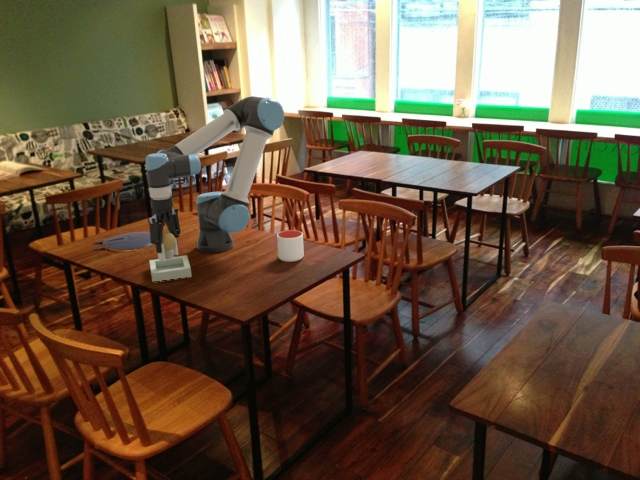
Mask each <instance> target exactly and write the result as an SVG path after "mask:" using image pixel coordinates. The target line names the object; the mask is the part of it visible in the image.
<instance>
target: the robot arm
mask: <svg viewBox="0 0 640 480" xmlns="http://www.w3.org/2000/svg"><path fill="white" fill-rule="evenodd" d="M284 120H285V111H284V109H283V106H282V105H281V103H280V102H279V101H278V100H276V99H274V98H273V99H272V98H270V97H260V96H247V97H244V98H242V99H240V100H238V101H237V102H234V103H233V104H231V105H230V106H228V107H227V108H225V109H224V110H223V113H222V114H221V115H219V116H218V117H216V118H214V119H213V120H212V121H210V122H208V123H207V124H205V125H204V126H202V127H200V128H199V129H198V130H196V131H194V132H193V133H192V134H190V135H188V136H187V137H185V138H184V139H182V140H180V141H179V142H177V143H176V144H175V145H172V146H171V147H168V149H160V150H158V151H157V152H156V153H150V154H147V155H146V157H145V170H146V175H147V182H148V183H147V184H148V191H149V197H150V205H151V206H150V208H151V209H152V210H153V214H152V217H148V218H147V222H148V224H149V225H148V227H149V233H150V240H151V244H155V249H156V253H157V259H159V260H160V261H166V259H165V251H164V244H162V236H163V233H164V228H165V225H166V227H167V228H166V229H167V230H168V232H169V233H171V234H173V235H174V237H175V245H174V246H173V248H172V250H173V255H175V256H178V255H179V250H178V244H179V243H178V238H180V235H181V233H182V232H181V225H180V220H179V214H178V213H179V209H178V208H173V207H174V206H173V205H174V204H173V203H174V202H173V197H172V186H171V180H173V179H178V178H185V177H190V176H191V177H192V176H194V175H195V176H196V175H198V174H200V173H201V169H202V163H201V160H200V158H199V156H198V154H200V153H202V151H204V150H206V149H207V148H209V147H210V146H212V145H214V144H216V142H218V141H219V140H221V139H222V138H224V137H225V136H228V134H230V133H232V132H233V131H235V132H237V131H239V130H241V129H242V128H244V130H245V134H244V138H243V140H242V143H241V146H240V149H239V153H238V155H237V158H236V161H235V164H234V167H233V170H232V172H231V175H230V179H229V182H228V184H227V187H226V190H224V191H211V192H204V193H201V194H198V195H197V196H196V199H195V200H196V201H195V202H196V203H195V205H196V212H197V218H198V227H199V228H198V234H197V235H198V237H197V241H196V249H197V250H198V251H200V252H202V253H207V254H208V253H209V254H211V253H212V254H213V253H221V252H226V251H228V250H230V249H231V248H233V247H234V238H233V237H232V234H235V233H236V234H237V233H240V232H241V231H243V230H244V229H246V227H247V226H248V225H249V223H250V219H251V214H250V211H249V209H248V208H249V205H250V201H249V199H248V197H249V193H250V190H251V188H252V185H253V181H254V179H255V176H256V173H257V170H258V168H259V164H260V161H261V158H262V156H263V153H264V150H265V147H266V144H267V141H268V140H269V139H271V138H273V135H274V133H275V131H276V130H278V129H279V128H281V127H282V125H283V123H284Z"/></svg>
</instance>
